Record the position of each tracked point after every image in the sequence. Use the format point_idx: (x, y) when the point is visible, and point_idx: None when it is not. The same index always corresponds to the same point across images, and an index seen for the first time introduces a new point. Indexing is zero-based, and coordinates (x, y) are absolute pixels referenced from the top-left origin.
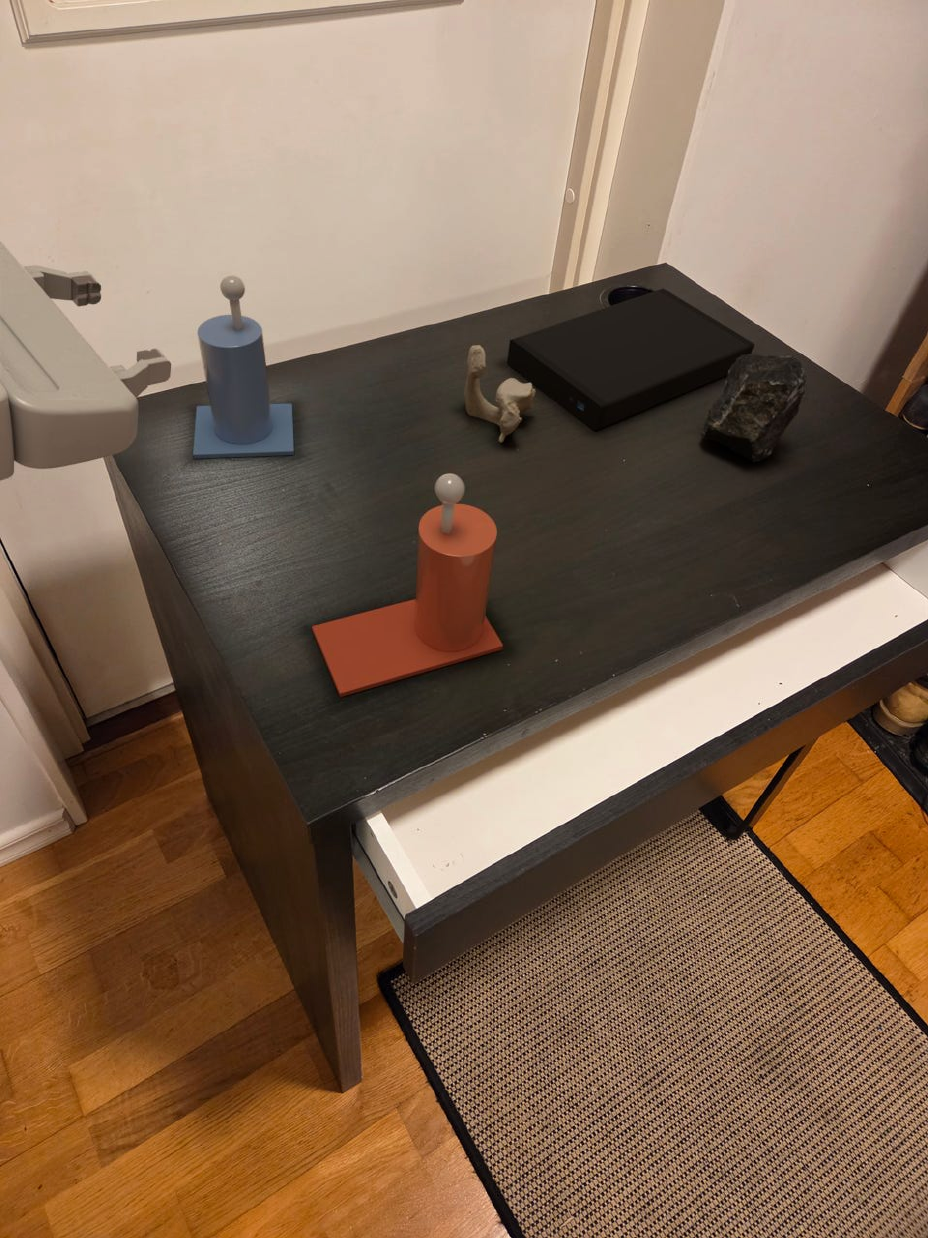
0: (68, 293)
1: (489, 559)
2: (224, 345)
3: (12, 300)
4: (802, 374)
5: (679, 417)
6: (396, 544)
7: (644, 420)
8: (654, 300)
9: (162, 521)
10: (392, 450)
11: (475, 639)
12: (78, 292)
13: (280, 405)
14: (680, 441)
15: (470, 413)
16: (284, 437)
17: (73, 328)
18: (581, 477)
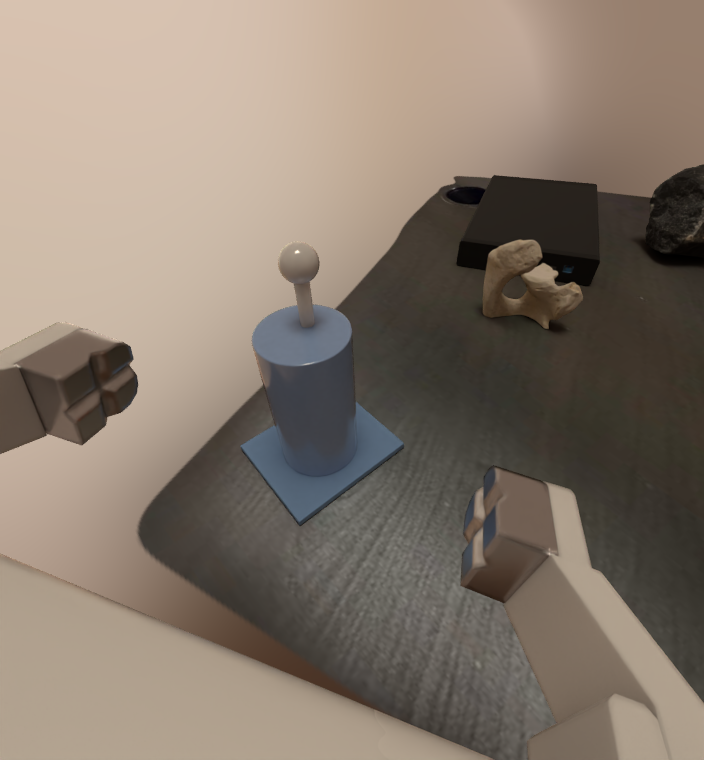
0: (26, 421)
1: None
2: (322, 357)
3: None
4: None
5: (613, 251)
6: (641, 502)
7: (600, 263)
8: (501, 183)
9: (359, 682)
10: (481, 385)
11: None
12: (71, 404)
13: None
14: (644, 266)
15: (493, 315)
16: (375, 431)
17: (287, 713)
18: (643, 327)
